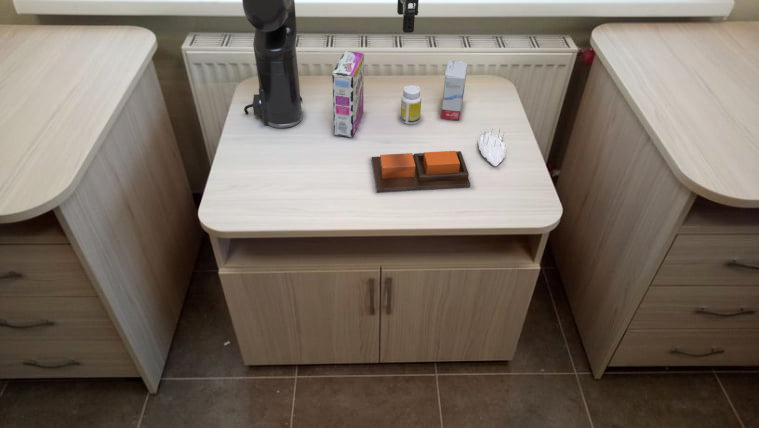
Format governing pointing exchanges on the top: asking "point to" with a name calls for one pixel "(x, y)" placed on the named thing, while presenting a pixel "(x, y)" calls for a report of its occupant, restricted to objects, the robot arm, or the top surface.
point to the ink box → (453, 89)
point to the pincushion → (492, 147)
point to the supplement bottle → (411, 104)
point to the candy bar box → (348, 93)
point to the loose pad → (441, 162)
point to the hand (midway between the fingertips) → (405, 22)
